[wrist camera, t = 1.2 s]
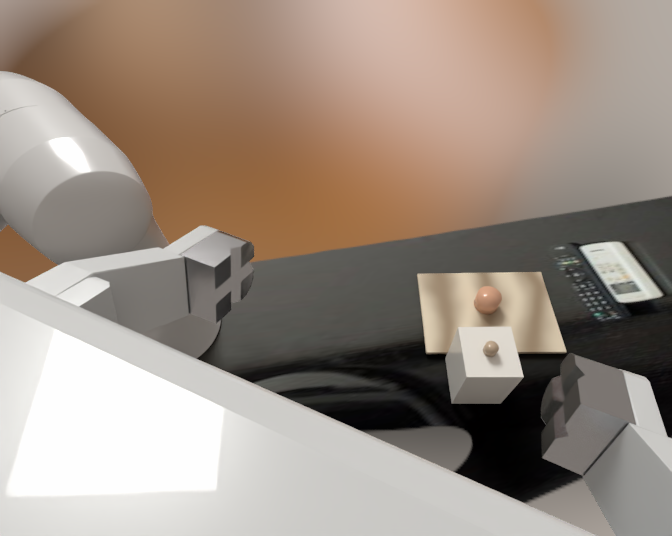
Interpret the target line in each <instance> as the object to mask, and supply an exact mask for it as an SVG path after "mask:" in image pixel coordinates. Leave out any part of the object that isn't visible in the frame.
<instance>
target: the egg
mask: <svg viewBox="0 0 672 536" xmlns="http://www.w3.org/2000/svg"><path fill="white" fill-rule="evenodd" d="M501 300H502V296H501V293H500V292H499V291H498V290H497V289H496V288H494V287H491V286H484V287H482V288H480V289H479V290H478V293H477V295H476V297H475V300H474V306H475V308H476V310H477V311H479V312H480V313H482V314H486V315H489V314H493V313H494V312H495V311H496V310H497V308H498V306H499V304H500V303H501Z"/></svg>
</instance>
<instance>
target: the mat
mask: <svg viewBox="0 0 672 536" xmlns="http://www.w3.org/2000/svg"><path fill="white" fill-rule="evenodd" d="M417 279H418V287H419V296H420V305H421V313H422V322H423V331H424V339H425V348H426V354H447V353H448V351H449V348H450V346H451V343H452V341H453V338H454V336H455V333H456V331H457V328H458V327H511V329H512V333H513V337H514V341H515V345H516V349H517V353H518V354H549V353H566V349H565V346H564V343H563V339H562V336H561V333H560V330H559V327H558V324H557V321H556V318H555V315H554V312H553V309H552V305H551V302H550V299H549V296H548V293H547V290H546V287H545V284H544V281H543V278H542V275H541V272H509V273H440V274H417ZM484 286H491V287H494V288H496V289H497V290H498V291H499V292H500V293H501V296H502V300H501V303H500V304H499V306H498V308H497V310H496V311H495V312H494V313H493V314H489V315H486V314H482V313H480V312H479V311H477V310H476V308H475V306H474V300H475V297H476V295H477V293H478V290H479V289H480V288H482V287H484Z"/></svg>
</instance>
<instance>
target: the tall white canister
mask: <svg viewBox="0 0 672 536" xmlns="http://www.w3.org/2000/svg"><path fill="white" fill-rule="evenodd" d="M445 360H446V367H447V374H448V381H449V388H450V395H451V402H452V404H501V403H502V401H503V400H504V399H505V398H506V397H507V396H508V395H509V393H510V392H511V391H512V390H513V389H514V388H515V386H516V385H517V384H518V383H519V382H520V381H521V380H522V378H523V377H524V376H523V372H522V369H521V365H520V361H519V357H518V353H517V349H516V345H515V341H514V337H513V333H512V329H511V327H458V328H457V331H456V333H455V336H454V338H453V341H452V343H451V346H450V348H449V351H448V353H447V355H446V358H445Z"/></svg>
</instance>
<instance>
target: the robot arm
mask: <svg viewBox="0 0 672 536" xmlns="http://www.w3.org/2000/svg"><path fill="white" fill-rule="evenodd" d="M7 224H9V226H10V227H11V228H12V229H14V230H15V231H16V232H17V233H18V234H19V235H20V236H21V237H22V238H24V239H25V240H26V241H27V242H28V243H30V244H31V245H32V246H33V247H35V248H36V249H37V250H38V251H40V252H41V253H42V254H44V255H45V256H46V257H47V258H49V259H50V260H52V261H53V262H55V263H56V264H58V266H56V267H54V268H52V269H51V270H49V271H47V272H45V273H43V274H41V275H39V276H37V277H35V278H33V279H31V280H29V281H28V282H26V283H24V282H22V281H20V280H17V279H15V278H13V277H10V276H8V275H6V274H4V273H1V272H0V536H597V535H595V534H592V533H590V532H588V531H586V530H584V529H581V528H579V527H577V526H575V525H572V524H570V523H568V522H565V521H563V520H561V519H559V518H556V517H554V516H552V515H550V514H547V513H545V512H543V511H541V510H538V509H536V508H533V507H531V506H529V505H527V504H525V503H522V502H520V501H518V500H516V499H513V498H511V497H509V496H507V495H504V494H502V493H500V492H498V491H495V490H493V489H491V488H488V487H486V486H484V485H482V484H479V483H477V482H475V481H473V480H470V479H468V478H466V477H464V476H461V475H459V474H457V473H454V472H452V471H450V470H448V469H445V468H443V467H441V466H439V465H436V464H434V463H432V462H429V461H427V460H425V459H423V458H421V457H418V456H416V455H414V454H411V453H409V452H407V451H405V450H402V449H400V448H398V447H396V446H393V445H391V444H389V443H387V442H384V441H382V440H380V439H378V438H375V437H373V436H371V435H368V434H366V433H364V432H362V431H359V430H357V429H355V428H353V427H350V426H348V425H346V424H344V423H341V422H339V421H337V420H335V419H332V418H330V417H328V416H326V415H323V414H321V413H319V412H316V411H314V410H312V409H310V408H307V407H305V406H303V405H301V404H298V403H296V402H294V401H292V400H289V399H287V398H285V397H283V396H280V395H278V394H276V393H273V392H271V391H269V390H267V389H264V388H262V387H260V386H258V385H255V384H253V383H251V382H248V381H246V380H244V379H242V378H239V377H237V376H235V375H232V374H230V373H228V372H226V371H223V370H221V369H219V368H216V367H214V366H212V365H210V364H207V363H205V362H203V361H201V360H198V359H197V358H198V357H199V356H201V355H202V354H203V353H204V352H205V351H206V350H207V349H208V348H209V347H210V346H211V344H212V343H213V341H214V340H215V338H216V336H217V334H218V331H219V328H220V323H221V319H222V318H223V317H224V316H225V315H226V314H227V313H228V312H229V311H230V310H231V303H234V302H237V301H241V300H242V299H243V298H244V297H245V296H246V295H247V293H248V291H249V289H250V287H251V285H252V281H253V274H254V270H253V268H252V266H251V264H250V262H249V261H250V260H251V259H252V258H253V257H254V246H253V245H252V243H251V242H249V241H247V240H244V239H241V238H239V237H236V236H233V235H230V234H228V233H225V232H222V231H219V230H217V229H214V228H211V227H208V226H199V227H198V228H196V229H195V230H193V231H191V232H190V233H188V234H186V235H185V236H183V237H182V238H180V239H178V240H177V241H175V242H173V243H172V244H170V245H169V243H168V242H167V240H166V238H165V237H164V235H163V233H162V232H161V230H160V228H159V227H158V225H157V223H156V222H155V219H154V217H153V214H152V203H151V199H150V197H149V194H148V192H147V191H146V189H145V186H144V185H143V183H142V181H141V179H140V177H139V176H138V174H137V172H136V170H135V169H134V167H133V165H132V164H131V162H130V161H129V160H128V158H127V157H126V155H125V154H124V153H122V151H120V149H119V148H117V147H116V146H115V145H114V144H113V143H112V142H111V141H110V140H109V139H108V138H107V137H106V136H105V135H104V134H103V133H102V132H101V131H100V130H99V129H98V128H97V127H96V126H95V125H94V124H93V123H91V122H90V121H89V120H88V119H86V118H85V117H84V116H83V115H82V114H81V113H80V112H79V111H78V110H77V109H76V108H75V107H74V106H73V105H72V104H70V102H69V101H67V99H66V98H65V97H63V96H62V95H61V94H59V93H58V92H57V91H55V90H54V89H52V88H50V87H48V86H46V85H44V84H42V83H40V82H37V81H35V80H33V79H30V78H28V77H25V76H22V75H19V74H16V73H11V72H2V71H0V231H1V230H2V229H3V228H4V227H6V226H7ZM560 366H561V376H558V377H556V378H553V379H552V380H551V381H550V383H549V385H548V387H547V388H546V391H545V394H544V397H543V400H542V406H541V418H542V419H543V421H544V422H545V424H546V427H545V428H544V430H543V431H542V433H541V438H542V458H544V459H546V460H548V461H551V462H553V463H555V464H557V465H560V466H562V467H564V468H566V469H569V470H571V471H573V472H576V473H578V474H580V475H582V476H583V479H584V481H585V483H586V484H587V486H588V488H589V490H590V491H591V493H592V495H593V496H594V498H595V500H596V502H597V504H598V505H599V507H600V509H601V511H602V512H603V514H604V516H605V518H606V519H607V521H608V523H609V525H610V526H611V528H612V530H613V532H614V533H615V535H616V536H672V439H671V438H668V437H667V434H666V431H665V428H664V425H663V422H662V419H661V416H660V413H659V410H658V407H657V404H656V400H655V397H654V394H653V391H652V388H651V385H650V382H649V381H648V380H647V379H646V378H645V377H643V376H640V375H637V374H634V373H630V372H627V371H624V370H621V369H616V368H613V367H610V366H607V365H604V364H601V363H598V362H595V361H592V360H589V359H586V358H583V357H580V356H577V355H574V354H571V353H570V354H569V355H568V356H567V357H566V358H565V359H564V361H563V362H562V364H561V365H560Z"/></svg>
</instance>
